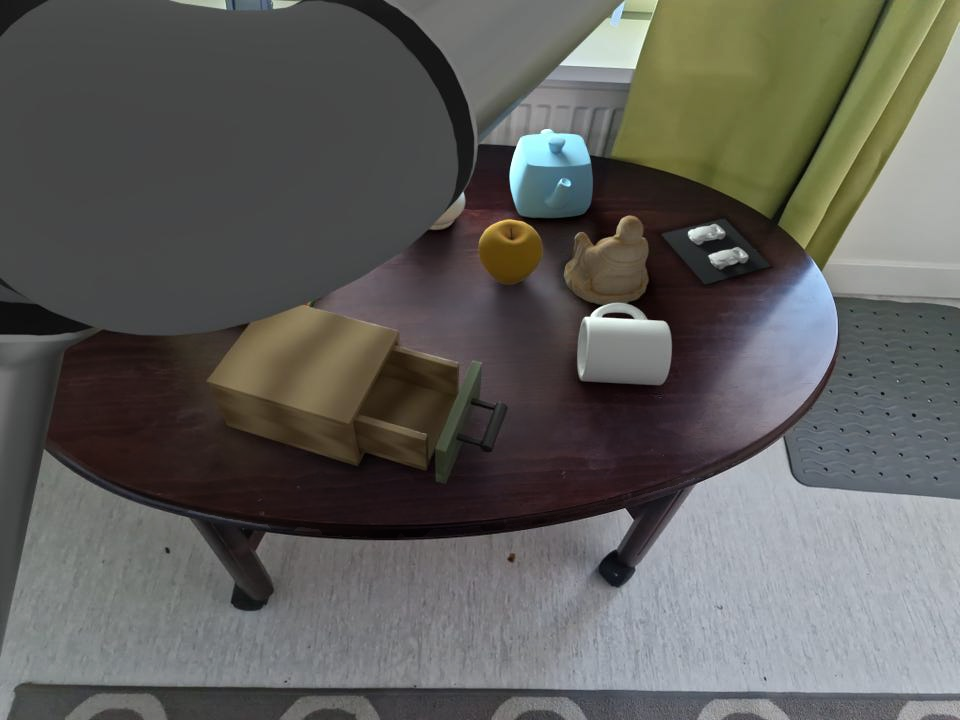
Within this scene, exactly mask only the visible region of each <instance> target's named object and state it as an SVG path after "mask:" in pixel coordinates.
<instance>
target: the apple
mask: <svg viewBox="0 0 960 720" xmlns="http://www.w3.org/2000/svg"><path fill="white" fill-rule="evenodd" d="M542 242H543V241H542V238H541V236H540V234H539V233H538V231H536V230H535V229H534V227H533V226H532V225H530V224H528V223H526V222H525V221H521V220H515V219H504V220H500V221H498V222H496V223H493V224H491V225H489V227H487V228H486V229H485V230H484V232H483V233H482V235H481V236H480V238H479V241H478V256H479V261H480V262H481V264H482V266H483V268H484V269H485V271H486V272H487V273H488V275H490V276H491V277H492V278H493V279H494V280H495V281H496V282H498V283H499V284H502V285H508V286H509V285H510V286H511V285H515V284H518V283H520V282H522V281H524V280H525V279H527V278H528V277H529V276H530V275H531V274H533V272H534V271H535V270H536V269H537V268H538V266H539V264H540V263H541V261H542V258H543V255H544V254H543V253H544V248H543V243H542Z"/></svg>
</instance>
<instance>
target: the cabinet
mask: <svg viewBox="0 0 960 720" xmlns="http://www.w3.org/2000/svg"><path fill="white" fill-rule="evenodd" d="M400 336H401V335H400V330H397V329H393V328H389V327H385V326H382V325H378V324H375V323H371V322H367V321H364V320H361V319H356V318H352V317H348V316H345V315H341V314H338V313H334V312H330V311H326V310H323V309H318V308H316V307H312V306H311V307H308V306H304V305H301V306H298V307H295V308H293V309H290V310H287V311H284V312H282V313H279V314H276V315H274V316H271V317H269V318H265V319H262V320H258V321H254V322H251V323H250V324H249V325H248V327H247V328H246V329H244V331H243V332H242V333H241V334H240V336H239V337H238V338H237V339H236V341H235V342H234V344H233V345H232V346H231V348H230V349H229V350H228V352H227V353H226V355H224V356H223V358H222V359H221V361H220V362H219V363H218V365H217V366H216V368H214V370H213V372H212V373H211V374H210V375H209V377H208V378H207V379H206V384H207V386H208V388H209V390H210V392H211V394H212V396H213V399H214V400H215V403H216V405H217V407H218V409H219V411H220V413H221V415H222V418H223V420H224V421H225V423H226V425H227V427H230V428H233V429H236V430H240V431H242V432H245V433H249V434H253V435H256V436H260V437H262V438H265V439H269V440H272V441H275V442H278V443H282V444H285V445H288V446H291V447H294V448H298V449H301V450H305V451H308V452H311V453H314V454H317V455H320V456H324V457H327V458H331V459H333V460H336V461H340V462H343V463H346V464H349V465H353V466H356V467H358V466H359V465H360V463H361V461H362V459H363V457H364V455H365V453H366V452H363V451H359V450H358V445H357V440H356V435H355V430H354V425H353V421H354V419H355V418H356V416H357V414H358V412H359V410H360V408H361V406H362V405H363V403H364V401H365V399H366V397H367V395H368V393H369V392H370V390H371V388H372V386H373V384H374V382H375V380H376V379H377V377H378V375H379V373H380V371H381V369H382V367H383V366H384V364H385V362H386V360H387V358H388V356H389V354H390V353H391V351H392V349H393V347H394V345H396V346H399V347H401V337H400Z"/></svg>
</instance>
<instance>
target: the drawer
mask: <svg viewBox="0 0 960 720" xmlns="http://www.w3.org/2000/svg"><path fill="white" fill-rule="evenodd" d="M482 371H483V362H480V361H476V360H472V361H471V362H470V365H469V368H468V370H467V373H466V375H465V377H464V379H463V381H462V384H461V386H460V362H458V361H455V360H454V361H453V360H451V359H446V358H443V357H439V356H435V355H433V354H432V355H431V354H428V353H425V352H421V351H417V350H414V349H409V348H406V347H403V346H400V347H399V346H396V345H394V347H393V349H392V351H391V353H390V354H389V356H388V358H387V360H386V362H385V364H384V366H383V367H382V369H381V371H380V373H379V375H378V377H377V379H376V380H375V382H374V384H373V386H372V388H371V390H370V392H369V393H368V395H367V397H366V399H365V401H364V403H363V405H362V406H361V408H360V410H359V412H358V414H357V416H356V418H355V419H354V421H353V425H354V430H355V435H356V440H357V445H358V450H359V451H363V452H365V453H366V454H370V455H373V456H376V457H379V458H382V459H386V460H388V461H391V462H394V463H399V464H402V465H405V466H409V467H411V468H414V469H415V468H416V469H418V470H423V471H425V472H427V471H428V468H429V466H430V464H431V462H432V459H433V457H434V458H435V459H434V463H435V467H434V468H435V482H437V483H440V484H444V485H447V483H448V481H449V477H450V475H451V472H452V470H453V468H454V465H455V462H456V460H457V457H458V455H459V452H460V449H461V448H462V445H463V443H465V444H469V445H472V446H476V447H478V448H479V449H480V450H481V451H482V452H483V453H492V452H493V450H494V447H495V445H496V441H497V439H498V436H499V434H500V431H501V427H502V425H503V422H504V419H505V416H506V414H507V411H508V409H509V408H508V405H507V404H506V403H505V402H502V401H497V402H496V403H493V402H489V401H486V400H482V399H481V390H482V389H481V387H482V373H483V372H482ZM477 407H479V408H482V409H486V410H490V411H492V412H491V415H490V417H489V420H488V423H487V426H486V429H485V432H484V435H483V437H482V439H480V438H476V437H473V436H470V435H466V434H467V431H468V429H469V427H470V424H471V422H472V419H473V417H474V414H475V411H476V409H477Z"/></svg>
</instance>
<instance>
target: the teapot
mask: <svg viewBox="0 0 960 720" xmlns="http://www.w3.org/2000/svg"><path fill="white" fill-rule="evenodd" d="M591 161H592V160H591V157H590V153H589V151H588V148H587V145H586V142H585V141H584V138H583V136H581V135H579V134H573V133H556V132H554V131H553V129H549V128H547V129H543V130H541V132H540V133H535V134H534V133H533V134H527V135H523V136H521V137H520V138H519V141H518V142H517V145H516V148H515V150H514V152H513V156H512V160H511V165H510V169H509V185H510V192H511V195H512V200H513V203H514V206H515V209H516V212H517V214H518V215H520V216H522V217H525V218H532V219H537V218H539V219H559V218H571V217H576V216H581V215H584V214H585V213H586V212H587V211H588V209H589V208H590V206H591V203H592V198H593V191H594V190H593V188H594V180H593V169H592V167H593V166H592V162H591Z"/></svg>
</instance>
